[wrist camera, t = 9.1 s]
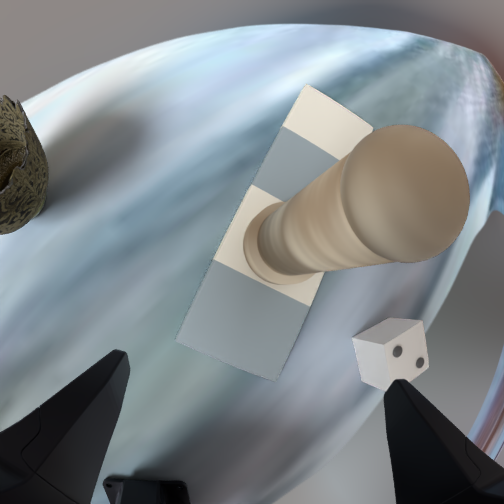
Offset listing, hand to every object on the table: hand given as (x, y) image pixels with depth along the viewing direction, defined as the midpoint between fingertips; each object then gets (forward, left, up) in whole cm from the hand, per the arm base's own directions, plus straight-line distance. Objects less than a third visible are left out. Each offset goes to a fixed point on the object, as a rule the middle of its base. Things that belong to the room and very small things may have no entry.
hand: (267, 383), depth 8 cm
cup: (+9, +14, -10) cm, 20 cm away
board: (+8, -5, -10) cm, 14 cm away
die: (-3, -12, -10) cm, 16 cm away
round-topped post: (+6, -4, -9) cm, 11 cm away
